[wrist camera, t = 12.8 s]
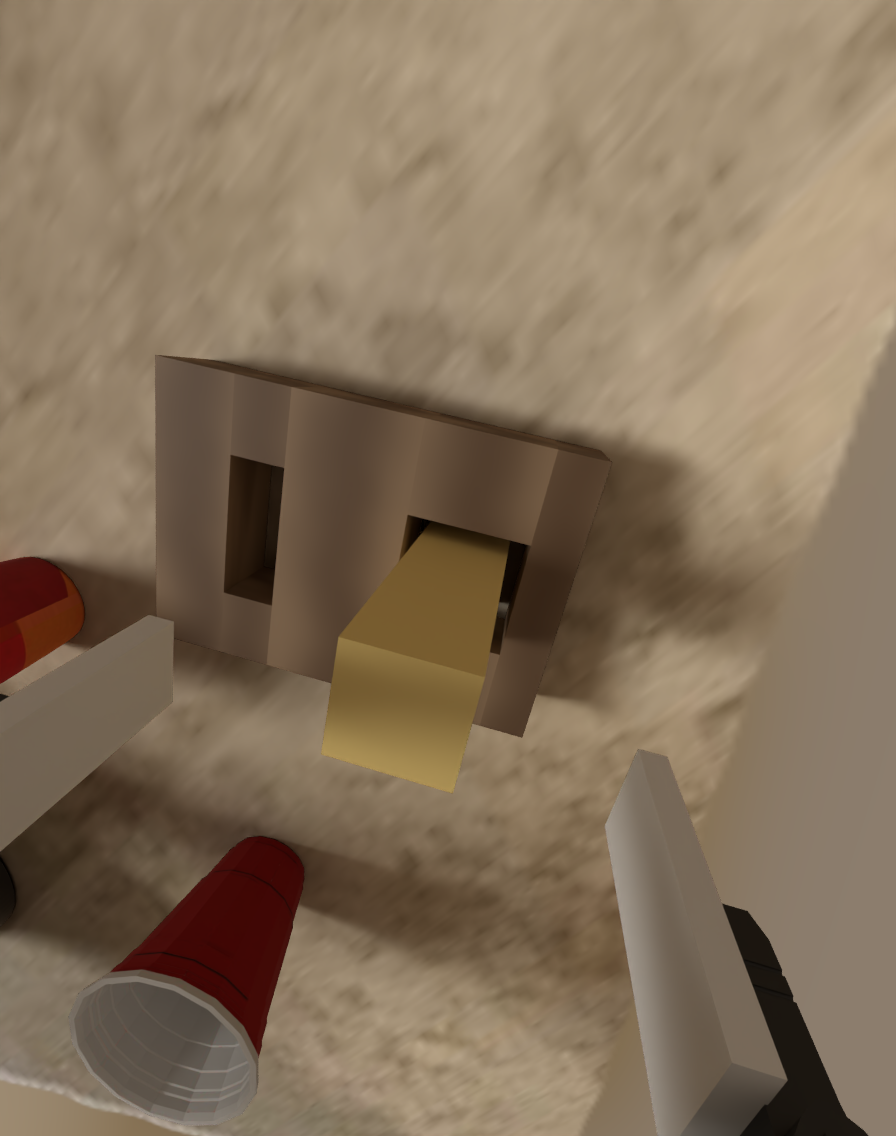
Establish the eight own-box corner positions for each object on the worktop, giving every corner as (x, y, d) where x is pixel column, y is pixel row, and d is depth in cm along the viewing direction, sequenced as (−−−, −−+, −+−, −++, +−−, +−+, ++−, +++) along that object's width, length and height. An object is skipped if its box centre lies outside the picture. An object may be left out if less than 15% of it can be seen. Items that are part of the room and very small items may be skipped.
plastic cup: (353, 838, 35) (267, 1047, 24) (323, 934, 39) (238, 1152, 28) (209, 784, 36) (61, 964, 25) (195, 885, 40) (61, 1079, 29)
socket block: (202, 603, 31) (156, 633, 27) (210, 359, 26) (155, 355, 22) (524, 692, 29) (522, 737, 25) (600, 450, 24) (612, 462, 20)
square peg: (422, 583, 28) (321, 754, 15) (436, 514, 26) (338, 636, 13) (493, 601, 27) (452, 793, 14) (511, 533, 26) (485, 677, 13)
